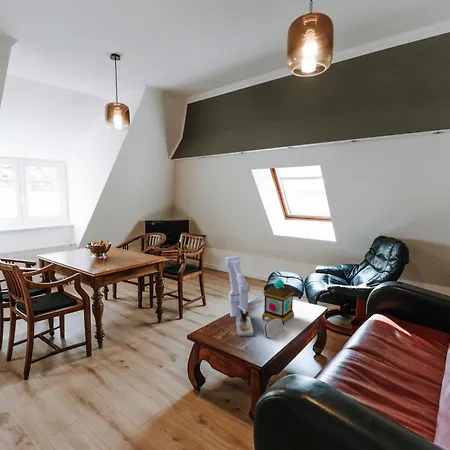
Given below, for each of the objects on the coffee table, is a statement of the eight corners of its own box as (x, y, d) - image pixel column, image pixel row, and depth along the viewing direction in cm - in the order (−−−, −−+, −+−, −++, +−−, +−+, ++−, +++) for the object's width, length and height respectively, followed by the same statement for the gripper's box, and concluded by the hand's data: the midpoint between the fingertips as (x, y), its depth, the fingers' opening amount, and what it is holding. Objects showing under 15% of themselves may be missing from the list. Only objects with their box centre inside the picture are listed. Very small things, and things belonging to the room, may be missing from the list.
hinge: (270, 339, 189) (266, 324, 190) (265, 339, 192) (261, 323, 193) (286, 330, 200) (282, 316, 201) (281, 330, 203) (277, 316, 205)
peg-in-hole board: (236, 320, 216) (236, 316, 215) (249, 319, 216) (249, 316, 215) (238, 335, 194) (238, 332, 193) (253, 335, 194) (253, 331, 194)
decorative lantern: (284, 327, 204) (285, 286, 200) (259, 319, 216) (260, 280, 212) (296, 317, 220) (298, 278, 216) (272, 310, 232) (273, 273, 227)
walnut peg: (240, 322, 212) (240, 311, 211) (245, 322, 212) (246, 311, 211) (241, 324, 209) (241, 313, 208) (246, 324, 209) (246, 313, 208)
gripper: (237, 296, 215) (237, 314, 217) (238, 304, 201) (238, 323, 203) (247, 296, 215) (247, 314, 217) (249, 304, 201) (248, 323, 203)
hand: (243, 318), depth 210 cm, fingers open, 5 cm apart
